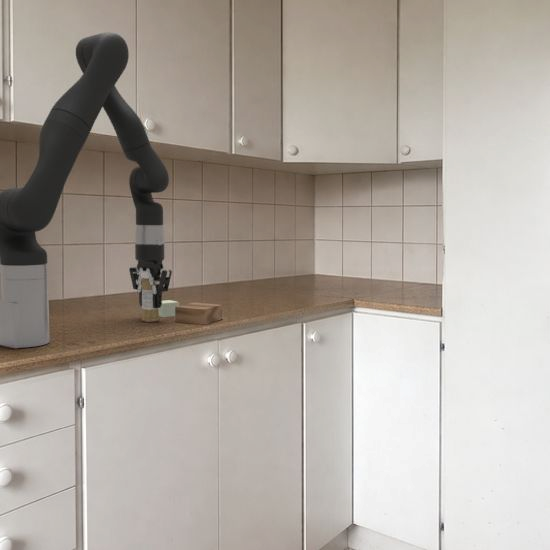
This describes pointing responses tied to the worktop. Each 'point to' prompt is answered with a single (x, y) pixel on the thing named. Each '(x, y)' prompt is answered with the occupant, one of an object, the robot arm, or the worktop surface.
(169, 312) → the sage block
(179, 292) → the worktop surface
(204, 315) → the walnut block
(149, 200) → the robot arm
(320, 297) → the worktop surface
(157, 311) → the sprinkles bottle
